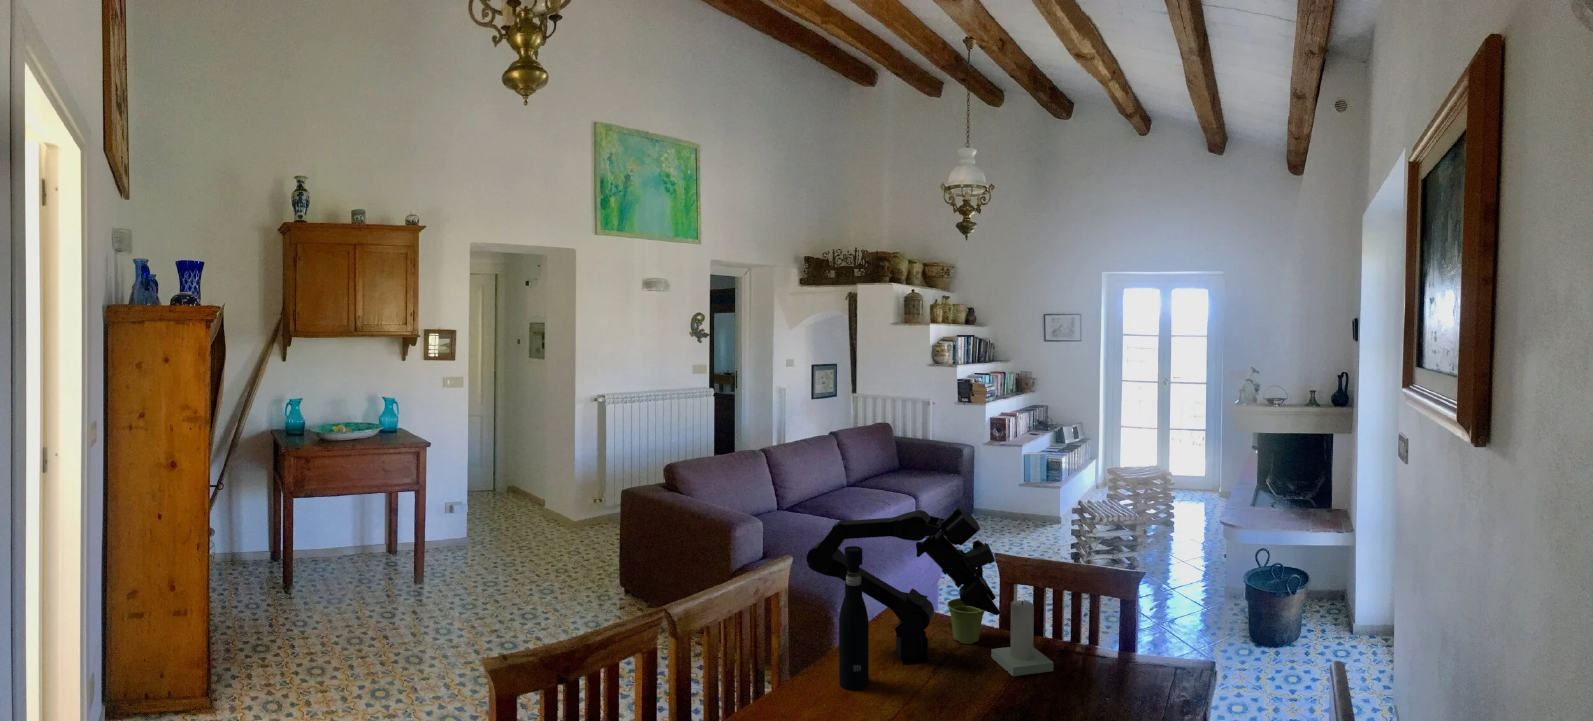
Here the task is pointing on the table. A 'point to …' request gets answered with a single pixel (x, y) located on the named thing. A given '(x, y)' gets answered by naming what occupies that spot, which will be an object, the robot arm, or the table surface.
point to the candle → (1022, 630)
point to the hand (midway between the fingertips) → (996, 606)
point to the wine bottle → (853, 627)
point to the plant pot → (965, 621)
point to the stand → (1022, 662)
